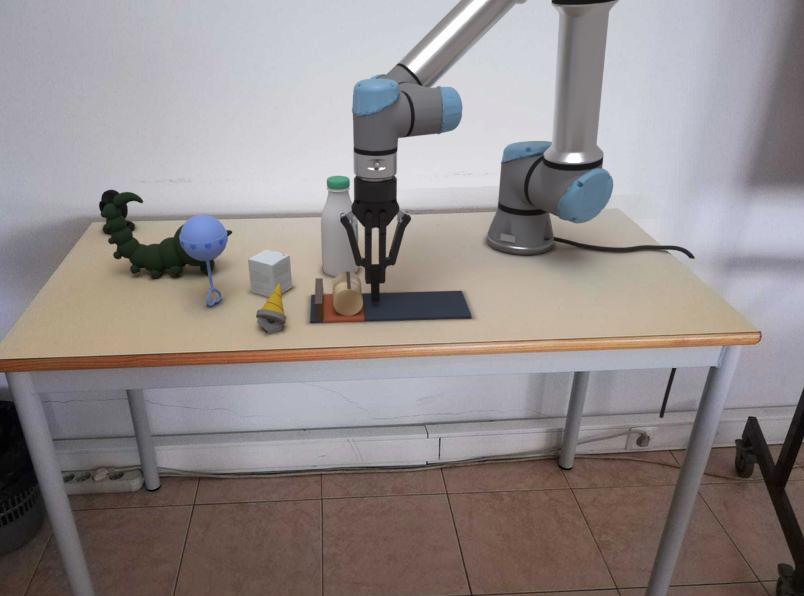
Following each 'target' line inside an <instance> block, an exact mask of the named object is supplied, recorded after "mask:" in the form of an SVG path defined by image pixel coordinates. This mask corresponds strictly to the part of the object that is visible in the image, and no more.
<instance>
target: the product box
mask: <svg viewBox="0 0 804 596" xmlns="http://www.w3.org/2000/svg"><path fill="white" fill-rule="evenodd" d="M247 263H248V271H249V272H248V273H249V281H250V292H251V293H252V294H256V295H258V296H259V295H260V296H264V297H267V298H269V297H270V295H271V294H272V292H273V291H274V289H275V288H276V287H277V285H278V284H279V283H280V288H281V295H282V294H284V293H286V292H287V291H289V290H290V289H292V288H293V279H292V266H291V265H292V264H291V255H290V254H288V253H285V252H284V253H283V252H279V251H275V250H272V249H264V250H263V251H261V252H259V253H256V254H255V255H253V256H251V257H249V258H248V259H247Z"/></svg>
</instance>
